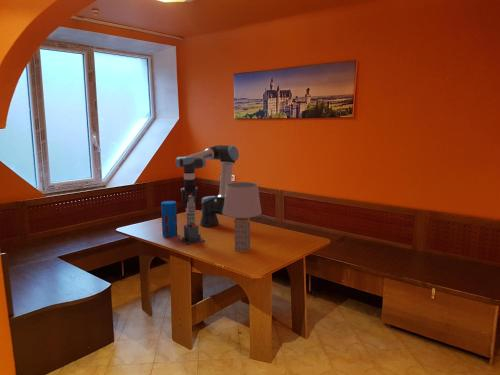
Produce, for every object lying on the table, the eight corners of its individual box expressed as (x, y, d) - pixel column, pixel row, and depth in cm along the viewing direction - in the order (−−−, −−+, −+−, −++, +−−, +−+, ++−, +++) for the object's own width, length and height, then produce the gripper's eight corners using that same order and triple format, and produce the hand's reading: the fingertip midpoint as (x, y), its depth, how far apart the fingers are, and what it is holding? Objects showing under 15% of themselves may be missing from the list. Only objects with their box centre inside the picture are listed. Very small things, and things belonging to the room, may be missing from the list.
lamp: (264, 244, 267) (265, 182, 259) (257, 257, 243) (257, 188, 235) (229, 242, 272) (228, 180, 264) (218, 254, 248) (217, 187, 240)
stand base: (196, 236, 286) (195, 219, 284) (204, 241, 275) (204, 223, 272) (178, 239, 278) (177, 222, 276) (186, 245, 267) (185, 226, 265)
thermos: (174, 238, 282) (172, 204, 278) (160, 237, 284) (158, 203, 280) (179, 233, 293) (178, 201, 288) (166, 232, 295) (164, 200, 290)
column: (192, 226, 278) (192, 194, 274) (196, 228, 274) (195, 196, 270) (186, 227, 276) (185, 195, 271) (189, 229, 271) (188, 197, 267)
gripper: (198, 177, 276) (199, 209, 281) (175, 179, 267) (176, 212, 271) (203, 178, 270) (204, 211, 274) (179, 180, 261) (181, 214, 265)
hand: (190, 211), depth 273 cm, fingers open, 4 cm apart
